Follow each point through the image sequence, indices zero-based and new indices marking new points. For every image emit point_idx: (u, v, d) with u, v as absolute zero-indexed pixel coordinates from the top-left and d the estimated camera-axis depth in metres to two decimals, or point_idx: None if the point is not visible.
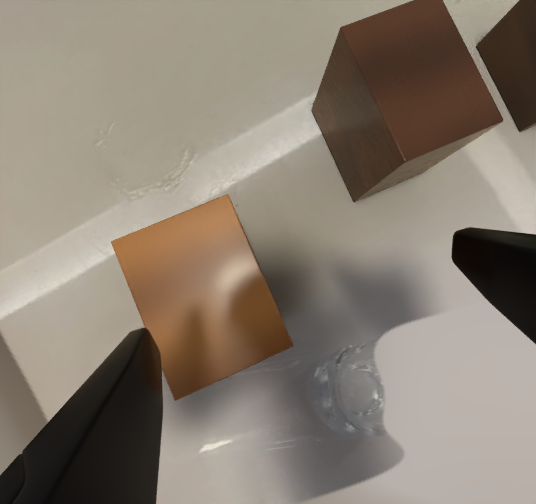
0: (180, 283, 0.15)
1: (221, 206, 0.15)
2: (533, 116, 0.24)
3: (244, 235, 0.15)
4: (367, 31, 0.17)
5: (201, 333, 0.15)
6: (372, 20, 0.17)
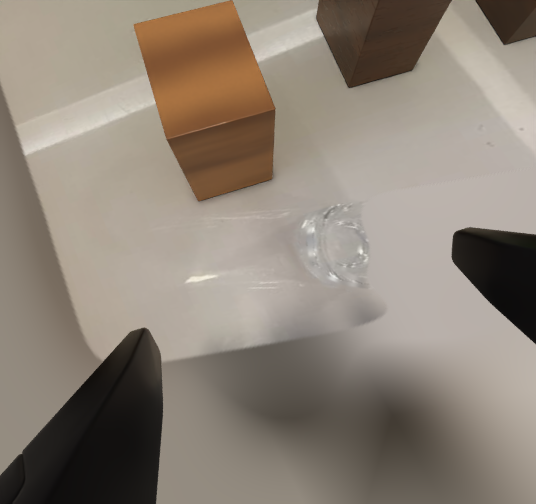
0: (184, 56, 0.18)
1: (226, 7, 0.18)
2: (514, 24, 0.27)
3: (242, 28, 0.18)
4: None
5: (196, 92, 0.17)
6: None
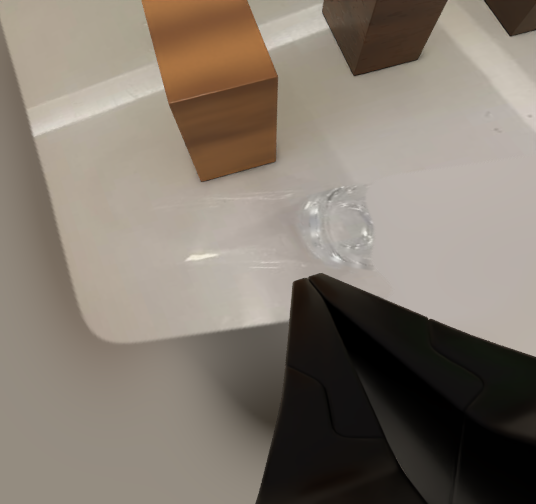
0: (190, 28, 0.18)
1: None
2: (519, 15, 0.27)
3: (247, 3, 0.18)
4: None
5: (200, 60, 0.17)
6: None
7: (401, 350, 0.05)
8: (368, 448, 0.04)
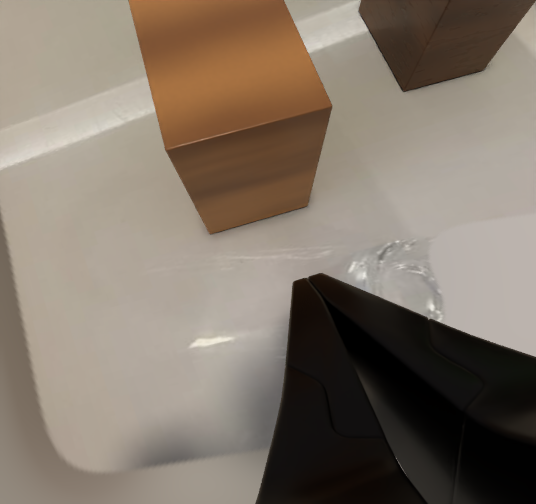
0: (197, 32, 0.12)
1: None
2: None
3: None
4: None
5: (213, 81, 0.11)
6: None
7: (401, 350, 0.05)
8: (368, 448, 0.04)
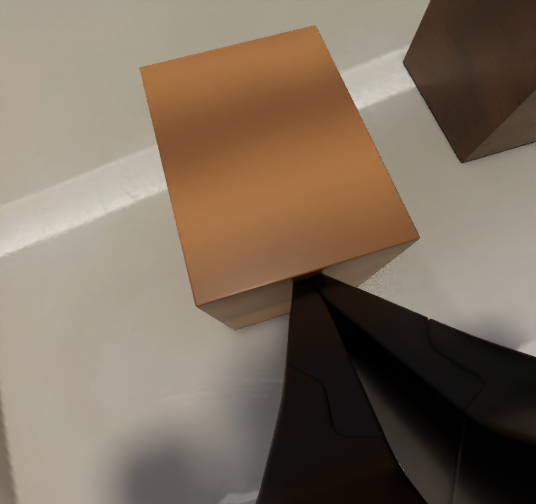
0: (233, 126, 0.09)
1: (306, 37, 0.10)
2: None
3: (338, 74, 0.10)
4: None
5: (257, 200, 0.08)
6: None
7: (401, 350, 0.05)
8: (368, 449, 0.04)
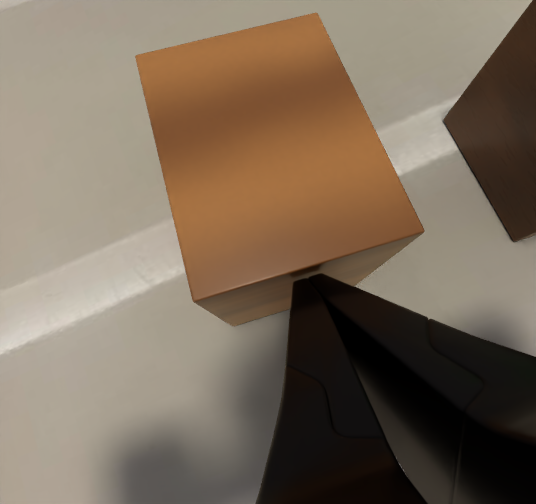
0: (231, 116, 0.09)
1: (307, 25, 0.10)
2: None
3: (340, 63, 0.10)
4: None
5: (256, 192, 0.08)
6: None
7: (401, 350, 0.05)
8: (367, 448, 0.04)
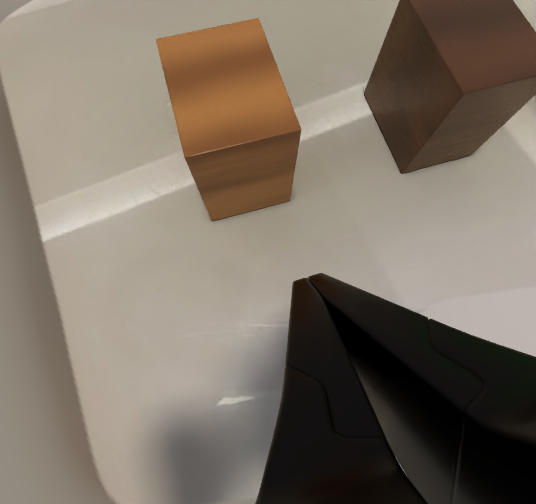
0: (207, 72, 0.17)
1: (252, 25, 0.18)
2: None
3: (268, 46, 0.17)
4: None
5: (218, 110, 0.16)
6: None
7: (401, 350, 0.05)
8: (368, 449, 0.04)
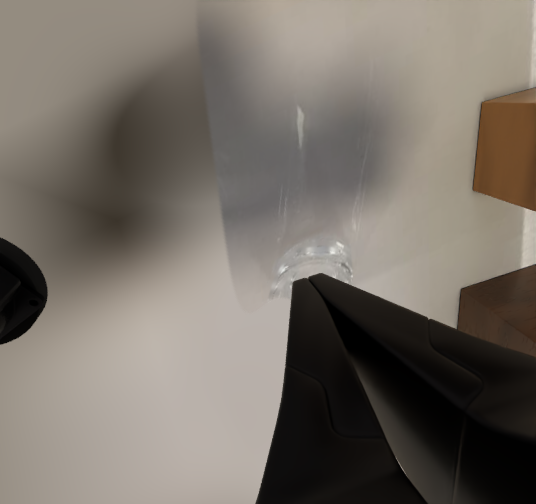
0: None
1: None
2: None
3: None
4: None
5: None
6: None
7: (401, 350, 0.05)
8: (368, 449, 0.04)
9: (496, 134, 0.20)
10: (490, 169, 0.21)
